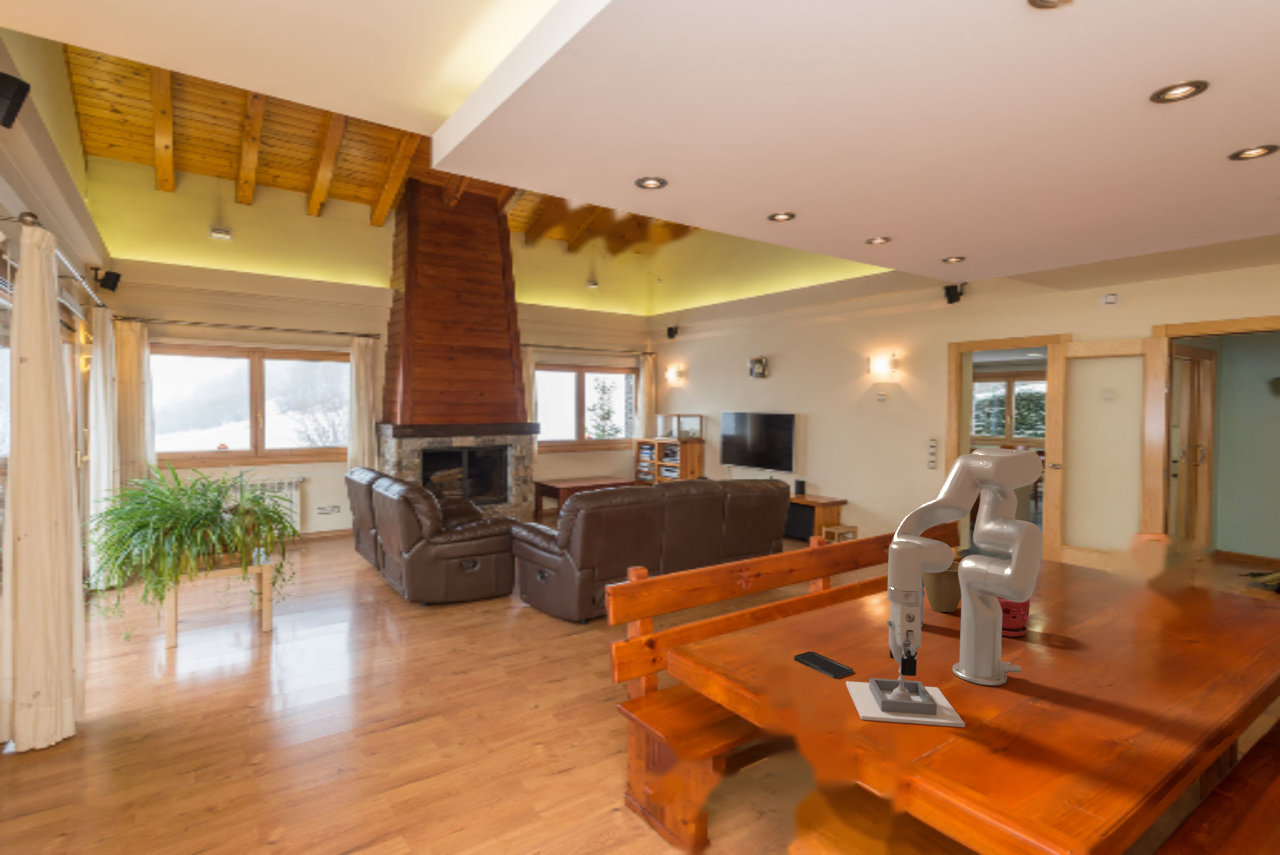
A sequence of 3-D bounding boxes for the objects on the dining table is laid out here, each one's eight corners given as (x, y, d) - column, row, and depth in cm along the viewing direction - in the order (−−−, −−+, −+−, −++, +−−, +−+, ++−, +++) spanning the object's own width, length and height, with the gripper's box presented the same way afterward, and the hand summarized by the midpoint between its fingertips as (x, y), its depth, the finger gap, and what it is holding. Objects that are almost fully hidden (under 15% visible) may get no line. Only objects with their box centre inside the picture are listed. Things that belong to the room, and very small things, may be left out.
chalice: (909, 692, 154) (912, 619, 154) (923, 706, 148) (925, 630, 147) (880, 692, 154) (882, 619, 153) (891, 706, 147) (894, 629, 147)
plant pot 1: (910, 606, 224) (911, 561, 223) (940, 601, 230) (941, 557, 229) (946, 619, 210) (948, 572, 210) (977, 614, 216) (978, 567, 216)
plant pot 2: (1015, 625, 206) (1017, 588, 205) (1036, 640, 193) (1038, 601, 192) (973, 623, 207) (974, 587, 206) (991, 638, 194) (993, 599, 193)
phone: (811, 650, 180) (855, 669, 168) (811, 654, 180) (855, 674, 168) (791, 656, 176) (835, 676, 163) (791, 660, 176) (835, 680, 163)
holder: (937, 690, 158) (937, 677, 158) (964, 727, 140) (965, 712, 140) (845, 684, 160) (846, 671, 160) (861, 719, 143) (861, 705, 142)
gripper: (933, 607, 140) (931, 683, 141) (910, 585, 157) (908, 653, 158) (898, 605, 141) (895, 681, 142) (878, 583, 158) (877, 651, 159)
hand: (902, 666), depth 150 cm, fingers open, 9 cm apart
